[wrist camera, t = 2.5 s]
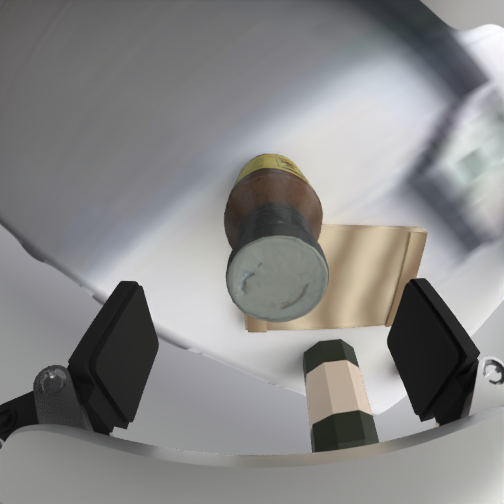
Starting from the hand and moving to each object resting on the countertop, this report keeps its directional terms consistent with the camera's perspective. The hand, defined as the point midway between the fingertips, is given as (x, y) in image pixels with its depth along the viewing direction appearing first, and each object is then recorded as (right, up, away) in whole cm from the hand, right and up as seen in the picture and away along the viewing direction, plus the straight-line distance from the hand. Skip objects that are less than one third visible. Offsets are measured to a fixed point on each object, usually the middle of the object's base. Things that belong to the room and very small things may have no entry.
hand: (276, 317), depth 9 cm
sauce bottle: (+1, +10, +19) cm, 22 cm away
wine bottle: (+11, -14, +31) cm, 36 cm away
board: (+9, -1, +24) cm, 26 cm away
